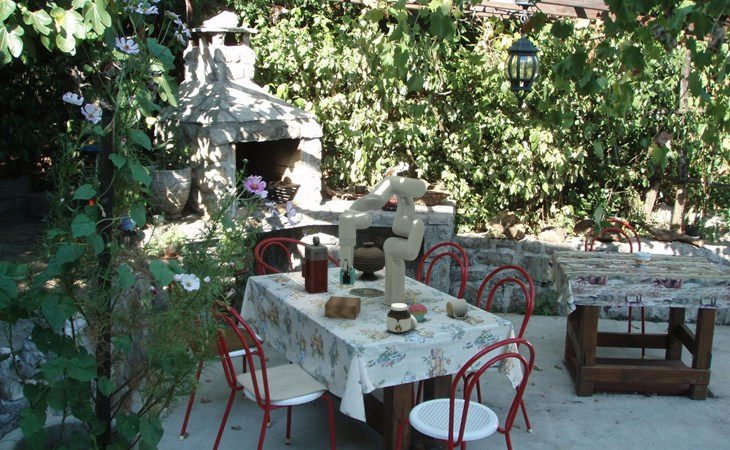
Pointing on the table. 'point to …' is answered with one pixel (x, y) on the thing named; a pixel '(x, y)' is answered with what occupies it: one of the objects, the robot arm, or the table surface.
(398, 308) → the spread jar
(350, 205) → the robot arm
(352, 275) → the teal block
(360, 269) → the pot
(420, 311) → the cupcake
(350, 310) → the walnut base
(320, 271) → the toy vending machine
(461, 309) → the ceramic mug
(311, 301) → the table surface
